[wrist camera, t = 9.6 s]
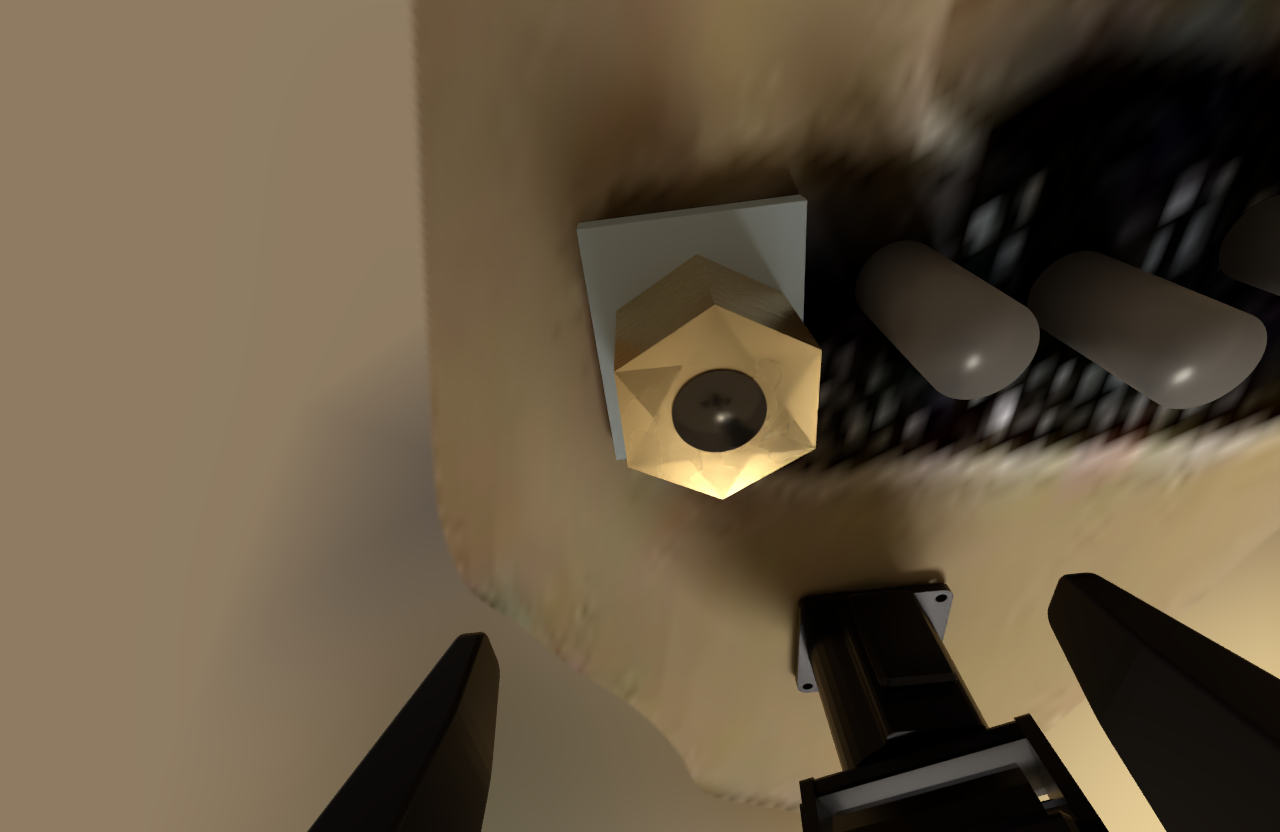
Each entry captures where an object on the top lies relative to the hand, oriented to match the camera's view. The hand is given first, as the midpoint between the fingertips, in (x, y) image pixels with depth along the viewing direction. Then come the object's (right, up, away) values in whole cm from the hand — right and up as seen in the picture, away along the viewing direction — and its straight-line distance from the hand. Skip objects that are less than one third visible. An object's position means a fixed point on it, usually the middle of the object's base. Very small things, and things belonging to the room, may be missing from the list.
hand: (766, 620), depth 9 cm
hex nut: (0, +5, +9) cm, 10 cm away
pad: (0, +6, +10) cm, 11 cm away
